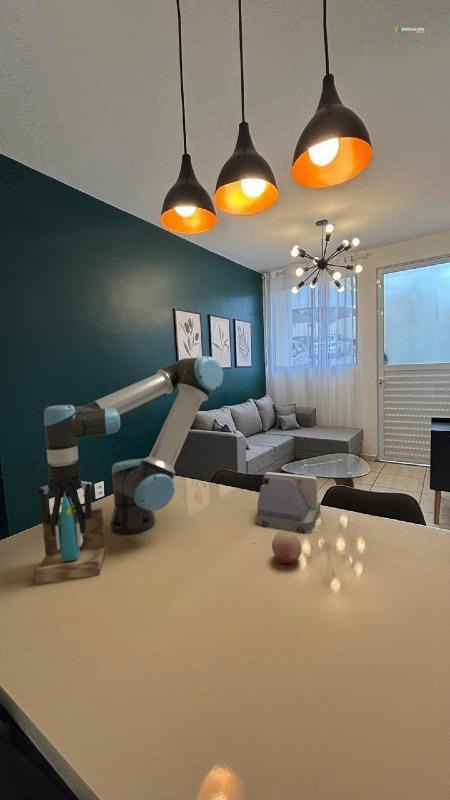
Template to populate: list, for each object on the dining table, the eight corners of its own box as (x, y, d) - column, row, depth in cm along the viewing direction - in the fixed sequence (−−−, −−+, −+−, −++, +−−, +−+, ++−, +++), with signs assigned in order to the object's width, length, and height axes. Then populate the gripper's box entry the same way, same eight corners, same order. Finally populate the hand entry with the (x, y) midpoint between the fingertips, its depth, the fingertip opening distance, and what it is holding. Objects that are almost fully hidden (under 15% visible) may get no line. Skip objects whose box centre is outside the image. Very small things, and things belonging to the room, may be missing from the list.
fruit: (304, 555, 95) (303, 528, 95) (297, 571, 88) (296, 542, 88) (276, 550, 99) (275, 524, 98) (268, 565, 92) (267, 536, 91)
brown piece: (105, 552, 102) (102, 507, 101) (99, 574, 91) (95, 524, 90) (48, 561, 99) (43, 514, 98) (34, 584, 88) (29, 532, 86)
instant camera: (328, 514, 122) (327, 473, 121) (306, 538, 106) (304, 491, 104) (275, 503, 135) (274, 466, 133) (247, 523, 118) (246, 481, 117)
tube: (81, 560, 92) (75, 491, 90) (61, 565, 90) (55, 494, 88) (79, 548, 98) (74, 483, 97) (61, 552, 96) (55, 486, 95)
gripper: (99, 456, 97) (105, 534, 99) (32, 462, 94) (40, 543, 96) (95, 462, 90) (101, 547, 92) (22, 469, 87) (30, 557, 89)
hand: (70, 545), depth 94 cm, fingers closed on tube, 5 cm apart
